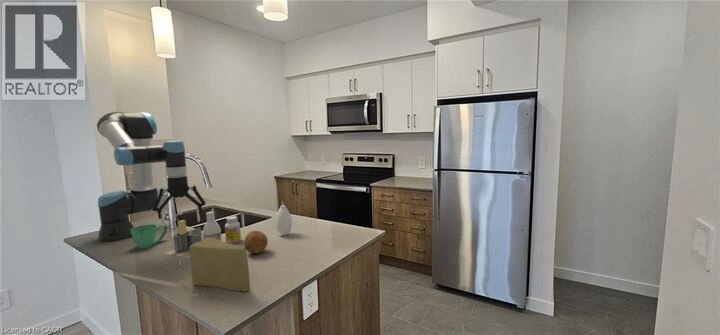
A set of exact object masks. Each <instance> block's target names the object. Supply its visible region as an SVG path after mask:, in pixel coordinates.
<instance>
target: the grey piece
mask: <svg viewBox="0 0 720 335" xmlns="http://www.w3.org/2000/svg"><path fill="white" fill-rule="evenodd" d="M186 231H187V235H183V236H179V232H176V233H174V234H173V235H172V236H173V246H174V248H175V252H186V251H189V247H190V246H191V245H192V244H194V243H197V242H200V241H202V240H203V232H202V228H201V227H197V228H194V229H191V230H189V231H188V230H186ZM174 248H173V249H174Z"/></svg>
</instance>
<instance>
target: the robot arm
mask: <svg viewBox="0 0 720 335" xmlns="http://www.w3.org/2000/svg"><path fill="white" fill-rule="evenodd" d="M153 116H154V115H152V114H151V113H149V112H142V111H138V112H137V111H132V112H131V111H112V112H108V113H107V114H103V116H101V117H100V118H99V119H98V121H97V123H96V129H97V131H98V133H99V135H101V137H104V138H105V139H107V141H108V142H109V144H110V145H111V146H112V147H113V149H114V150H113V158H114V161H115V163H116V165H117V166H118V165H119V166H131V169H132V181H133V182H132V183H133V186H131V187H130V192H127V191H126V190H118V191H117V190H116V191H112V192H107V193H105V194H102V195H101V196H99V197H98V199H97V207H98V212H99V219H100V228H99V232H98V236H97V238H98V239H97V240H98V241H99V242H104V243H105V242H114V241H120V240H123V239H127V238H130V237H133V236H132V234H131V231H130V230H131V229H132V228H134V226H133V224H132V222H131V219H130V215H134V214H138V213H139V214H140V213H144V212H150V211H152V212H157V216H158V220H159V219H160V220H161V224H162V227H161V228H164V227H163V226H165V225H166V219H165V217H166V216H165V210H164V208H165V206H166V205H167V204H168V203H169V201H170V200H172V198H175V199H176V198H184V197H185V198H187V199H188V200H189V201H191V202H192V203H194V205H195V206H196V217H197V222H198V223H199V222H201V216H200V215H201V214H202V213H203V210H202V208H203V207H204V206H206V201H205V200H204V198H203V196H202V195H201V193H199V191H198V189H197V185H195V184H194V185H191V186H189V183H188V176H187V174H188V172H187V164H186V163H187V162H186V152H185V151H186V149H185V144H184V141H183V140H166V141H164V142H163V144H159V145H151V141H152V140H153V139H154V136H155V135H157V131H158V126H157V122H156V120H155V118H154V117H153ZM153 135H154V136H153ZM164 162H165V171H166V177H167V178H166V180H167V181H166V182H167V188H163V187H161V188H157V185H155V184H154V182H153V181H154V180H153V167H152V164H153V163H164ZM189 190H190V191H192V192H193V193H194V194H195V196H196V197H197V199H198V200H199V201H198V200H197V199H196V198H194V196H192V195H191V194H190V193H189ZM166 192H167V194H169V195H168V197H167V198H166V199H165V200H164V201H163V202H162V198H163V196H164V194H166Z"/></svg>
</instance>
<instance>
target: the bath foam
mask: <svg viewBox="0 0 720 335" xmlns="http://www.w3.org/2000/svg"><path fill="white" fill-rule="evenodd" d="M205 214H206V222H205V224H204V226H203V229H202V240H205V239H208V238H215V239H218V240H220V241H223V239H222V238H223V237H222V229H221V226H220V224H219V223H218V222H217V221H216V219H215V212H214V211H208V212H205Z"/></svg>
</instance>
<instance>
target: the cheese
mask: <svg viewBox="0 0 720 335" xmlns="http://www.w3.org/2000/svg"><path fill="white" fill-rule="evenodd" d="M189 251H190V257H189V259H190V260H189V261H190V269H191V270H190V272H191V280H192V285H193V286H203V287H213V288H220V289H224V290H228V291H229V290H230V291H234V290H235V292H240V291H243V292H242V293H248V292H249V291H251V283H250V274H249V272H250V270H249V262H248V255H247V250H246V248H245V246H244V245H243V246H242V245H238V244H229V243H226V241H223V240H222V241H220V240H218V239H215V238H208V239H205V240H203V239H202V241H200V242H197V243H194V244H192V245H191V246H190V247H189ZM247 291H248V292H247Z"/></svg>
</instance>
